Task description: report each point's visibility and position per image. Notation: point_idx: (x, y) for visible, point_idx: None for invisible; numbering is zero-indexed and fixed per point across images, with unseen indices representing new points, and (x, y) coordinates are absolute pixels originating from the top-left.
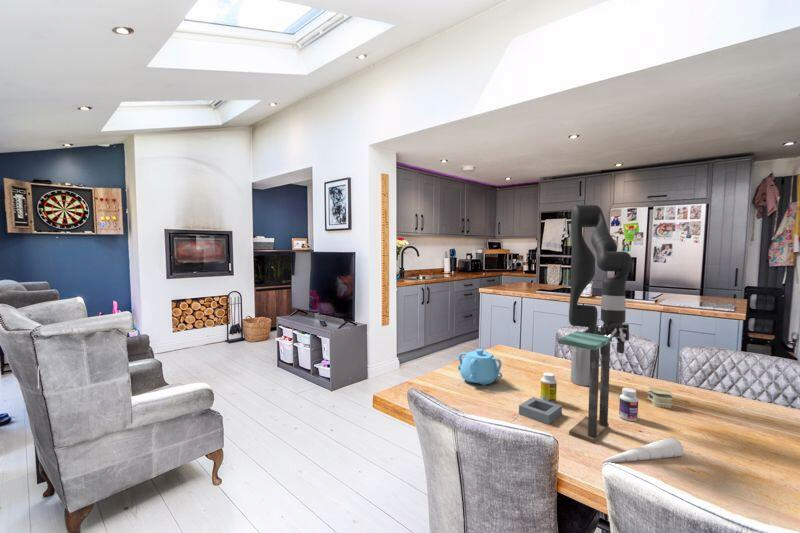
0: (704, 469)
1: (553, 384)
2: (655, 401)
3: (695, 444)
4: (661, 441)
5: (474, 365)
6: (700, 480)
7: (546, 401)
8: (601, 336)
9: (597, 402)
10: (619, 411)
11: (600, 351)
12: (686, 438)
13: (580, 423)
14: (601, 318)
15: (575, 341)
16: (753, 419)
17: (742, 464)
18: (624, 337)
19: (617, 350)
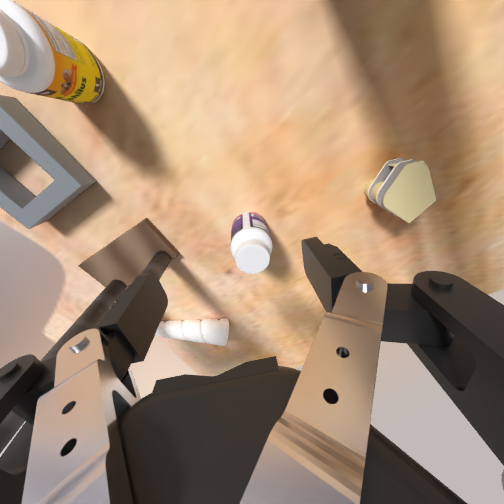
0: (231, 346)
1: (35, 92)
2: (371, 194)
3: (277, 311)
4: (201, 339)
5: None
6: (207, 357)
7: (35, 145)
8: None
9: None
10: (233, 224)
11: (120, 297)
12: (282, 299)
13: (115, 245)
14: None
15: None
16: (463, 272)
17: (285, 345)
18: (421, 336)
19: (305, 247)
